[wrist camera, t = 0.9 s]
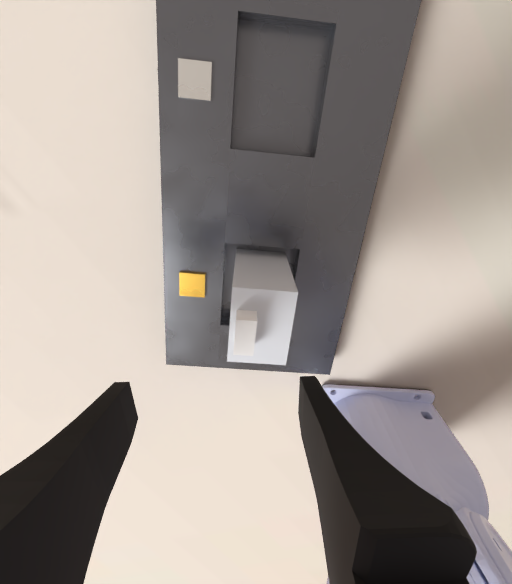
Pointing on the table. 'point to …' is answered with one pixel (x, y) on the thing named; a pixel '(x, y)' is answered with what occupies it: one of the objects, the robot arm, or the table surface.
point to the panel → (271, 157)
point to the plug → (261, 308)
